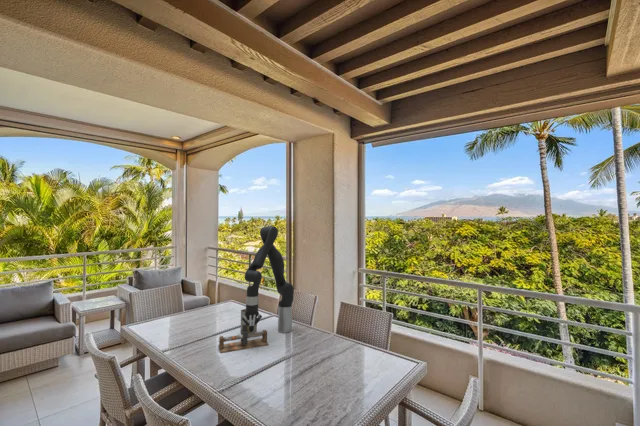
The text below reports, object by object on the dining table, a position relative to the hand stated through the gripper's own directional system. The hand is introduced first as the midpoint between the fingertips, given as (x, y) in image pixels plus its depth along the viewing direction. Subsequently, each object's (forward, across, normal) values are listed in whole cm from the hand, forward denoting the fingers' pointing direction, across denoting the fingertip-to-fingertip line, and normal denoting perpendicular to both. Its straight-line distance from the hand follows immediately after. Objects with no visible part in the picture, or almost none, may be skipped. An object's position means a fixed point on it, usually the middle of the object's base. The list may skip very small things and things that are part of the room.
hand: (251, 331), depth 174 cm
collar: (+6, +4, 0) cm, 7 cm away
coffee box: (+8, -3, -19) cm, 21 cm away
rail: (+8, +4, 0) cm, 9 cm away
